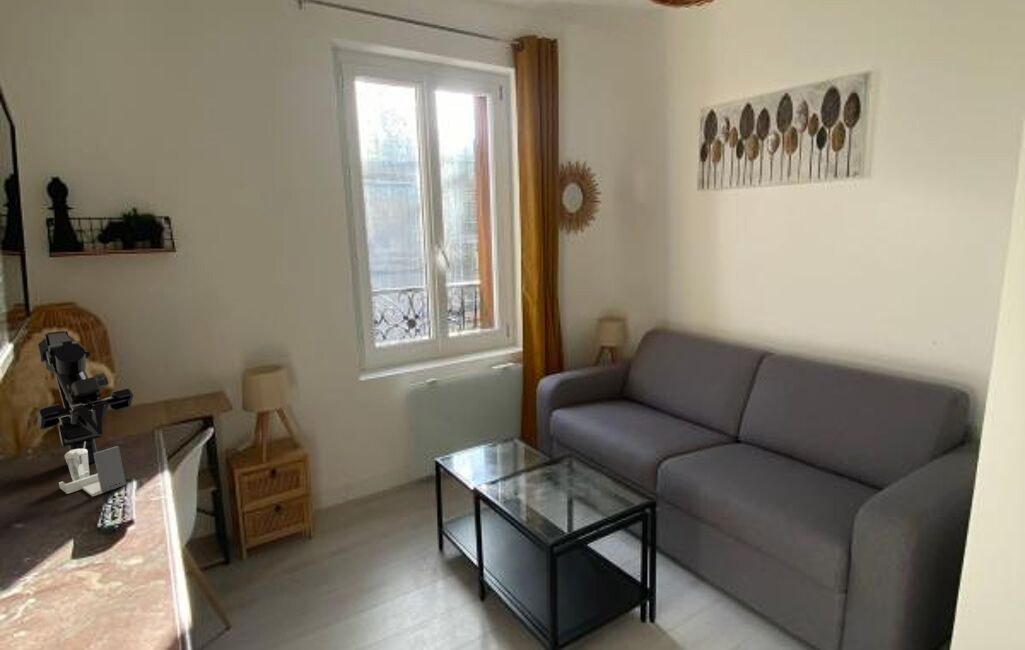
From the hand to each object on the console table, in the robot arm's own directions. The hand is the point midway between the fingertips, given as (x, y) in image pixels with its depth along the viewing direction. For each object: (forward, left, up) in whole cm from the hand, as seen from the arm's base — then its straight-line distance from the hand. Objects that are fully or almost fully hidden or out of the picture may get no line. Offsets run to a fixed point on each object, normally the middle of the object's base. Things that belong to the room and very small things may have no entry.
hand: (100, 434), depth 134 cm
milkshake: (-9, -3, -14) cm, 17 cm away
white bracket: (-4, -2, -13) cm, 14 cm away
